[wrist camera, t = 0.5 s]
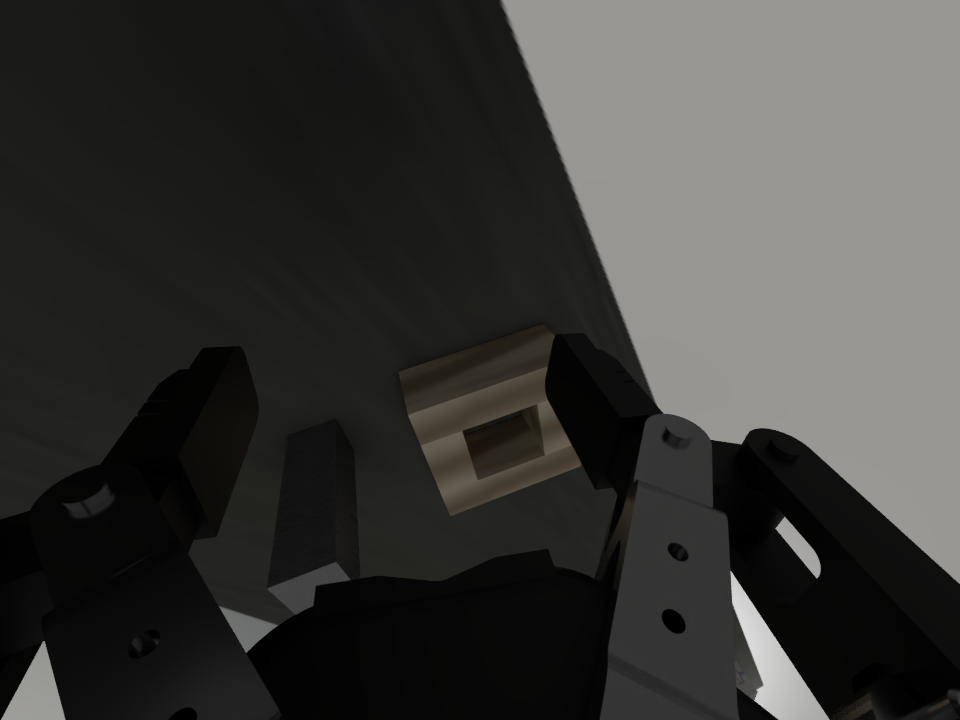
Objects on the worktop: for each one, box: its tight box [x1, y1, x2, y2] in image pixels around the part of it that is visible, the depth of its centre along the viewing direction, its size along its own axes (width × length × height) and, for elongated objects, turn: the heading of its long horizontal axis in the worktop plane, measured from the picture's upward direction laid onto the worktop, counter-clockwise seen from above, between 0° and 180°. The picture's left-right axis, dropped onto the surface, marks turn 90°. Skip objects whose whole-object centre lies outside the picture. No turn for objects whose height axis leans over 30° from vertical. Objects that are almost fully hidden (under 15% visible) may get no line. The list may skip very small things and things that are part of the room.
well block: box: [399, 323, 581, 516], centre depth 39 cm, size 14×14×6 cm
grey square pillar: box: [267, 419, 360, 614], centre depth 33 cm, size 4×4×14 cm
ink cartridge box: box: [735, 661, 757, 700], centre depth 116 cm, size 9×5×15 cm, turn 19°
